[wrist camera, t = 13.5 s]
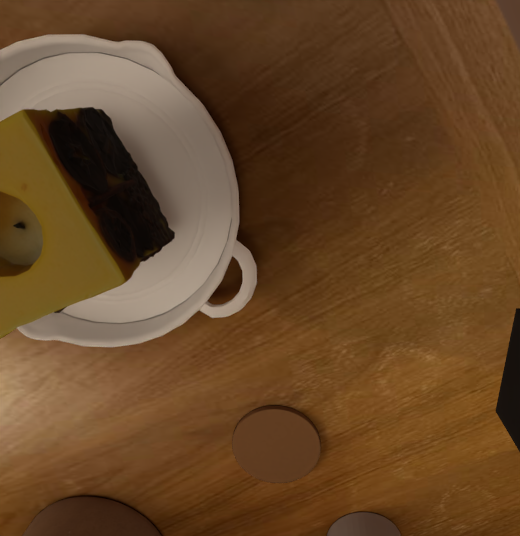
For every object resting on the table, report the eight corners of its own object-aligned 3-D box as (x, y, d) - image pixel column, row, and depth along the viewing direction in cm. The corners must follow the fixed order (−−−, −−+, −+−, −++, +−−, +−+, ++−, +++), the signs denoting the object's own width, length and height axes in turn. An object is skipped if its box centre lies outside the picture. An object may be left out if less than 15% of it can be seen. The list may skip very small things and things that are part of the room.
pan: (-2, -48, 35) (-40, -67, 31) (334, 146, 37) (338, 152, 33) (-93, 246, 42) (-132, 260, 38) (190, 392, 44) (180, 419, 41)
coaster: (232, 402, 44) (231, 406, 44) (322, 407, 44) (322, 411, 43) (233, 475, 47) (232, 480, 46) (318, 481, 46) (318, 486, 46)
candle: (178, 236, 36) (134, 284, 26) (64, 291, 38) (-15, 353, 28) (105, 102, 33) (28, 102, 24) (-13, 168, 35) (-128, 192, 26)
